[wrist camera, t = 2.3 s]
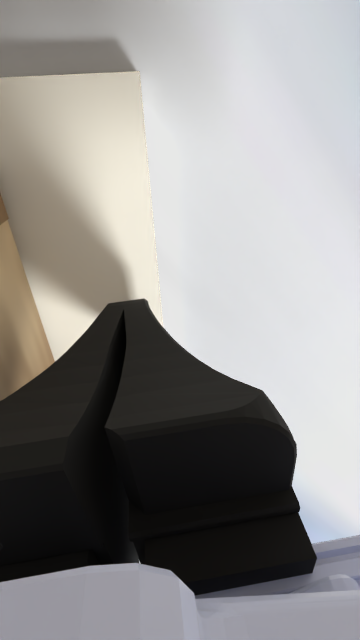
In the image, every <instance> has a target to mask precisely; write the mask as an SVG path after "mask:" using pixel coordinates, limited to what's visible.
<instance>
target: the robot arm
mask: <svg viewBox="0 0 360 640" xmlns="http://www.w3.org/2000/svg"><path fill="white" fill-rule="evenodd" d="M296 457H297V449H296V443H295V441H294V439H293V436H292V434H291V432H290V430H289V428H288V426H287V424H286V423H285V421H284V419H283V418H282V416H281V415H280V414H279V412H278V411H277V409H276V408H275V406H274V405H273V404H272V402H271V401H270V400H269V398H268V397H267V396H266V394H265V393H264V392H263V391H262V390H260V389H257V388H255V387H252V386H250V385H247V384H245V383H242V382H240V381H237V380H234V379H232V378H230V377H228V376H226V375H224V374H222V373H220V372H218V371H216V370H214V369H212V368H211V367H209V366H207V365H206V364H204V363H203V362H201V361H199V360H198V359H197V358H195V357H194V356H193V355H191V354H190V353H189V352H187V351H186V350H185V349H184V348H183V347H182V346H180V345H179V344H178V343H177V342H176V341H175V340H174V339H173V338H172V337H171V336H170V335H169V334H168V332H167V331H166V330H165V329H164V328H163V327H162V325H161V324H160V323H159V321H158V320H157V319H156V317H155V316H154V314H153V312H152V311H151V309H150V307H149V304H148V301H147V300H146V299H144V298H143V299H136V300H129V301H122V302H114V303H108V304H107V305H106V307H105V308H104V309H103V310H102V312H101V313H100V314H99V315H98V317H97V318H96V319H95V320H94V322H93V323H92V324H91V325H90V327H89V328H88V329H87V330H86V331H85V332H84V334H83V335H82V336H81V337H80V338H79V339H78V340H77V341H76V342H75V343H74V344H73V345H72V346H71V347H70V348H69V349H68V350H67V351H66V352H65V353H64V354H63V355H62V356H61V357H60V358H59V359H58V360H56V361H55V362H54V363H53V364H52V365H50V366H49V367H48V368H47V369H46V370H44V371H43V372H42V373H41V374H39V375H38V376H36V377H35V378H34V379H32V380H31V381H29V382H28V383H27V384H25V385H24V386H22V387H21V388H20V389H18V390H17V391H15V392H14V393H12V394H11V395H9V396H8V397H6V398H5V399H3V400H1V401H0V640H360V535H357V536H352V537H346V538H341V539H336V540H330V541H325V542H319V543H314V544H311V542H310V540H309V537H308V535H307V532H306V530H305V528H304V525H303V523H302V521H301V518H300V516H299V513H298V512H299V510H300V506H299V502H298V500H297V497H296V495H295V493H294V490H293V488H292V480H293V474H294V469H295V463H296ZM139 560H140V563H141V564H139Z"/></svg>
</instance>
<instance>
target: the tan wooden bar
mask: <svg viewBox="0 0 360 640" xmlns="http://www.w3.org/2000/svg"><path fill="white" fill-rule="evenodd" d="M8 219H9V217H8V214H7V211H6V208H5V205H4V202H3V199H2V196H1V193H0V401H1V400H3V399H5V398H6V397H8V396H9V395H11V394H12V393H14V392H15V391H17V390H18V389H20V388H21V387H22V386H24V385H25V384H27V383H28V382H29V381H31V380H32V379H34V378H35V377H36V376H38V375H39V374H41V373H42V372H43V371H44V370H46V369H47V368H48V367H49V366H50V365H52V364H53V363H54V362H55V360H54V357H53V354H52V351H51V349H50V346H49V343H48V340H47V337H46V334H45V331H44V328H43V325H42V322H41V319H40V316H39V313H38V310H37V307H36V304H35V301H34V298H33V295H32V292H31V289H30V286H29V283H28V280H27V277H26V274H25V271H24V268H23V265H22V262H21V259H20V256H19V253H18V250H17V247H16V244H15V241H14V238H13V235H12V232H11V229H10V226H9V223H8Z"/></svg>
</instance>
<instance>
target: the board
mask: <svg viewBox="0 0 360 640" xmlns="http://www.w3.org/2000/svg"><path fill="white" fill-rule="evenodd" d="M0 193H1V196H2V199H3V202H4V205H5V208H6V211H7V214H8V217H9V219H8V223H9V226H10V229H11V232H12V235H13V238H14V241H15V244H16V247H17V250H18V253H19V256H20V259H21V262H22V265H23V268H24V271H25V274H26V277H27V280H28V283H29V286H30V289H31V292H32V295H33V298H34V301H35V304H36V307H37V310H38V313H39V316H40V319H41V322H42V325H43V328H44V331H45V334H46V337H47V340H48V343H49V346H50V349H51V351H52V354H53V357H54V360H55V361H56V360H58V359H59V358H60V357H61V356H62V355H63V354H64V353H65V352H66V351H67V350H68V349H69V348H70V347H71V346H72V345H73V344H74V343H75V342H76V341H77V340H78V339H79V338H80V337H81V336H82V335H83V334H84V332H85V331H86V330H87V329H88V328H89V327H90V325H91V324H92V323H93V322H94V320H95V319H96V318H97V317H98V315H99V314H100V313H101V312H102V310H103V309H104V308H105V307H106V305H107V304H108V303H114V302H122V301H129V300H136V299H143V298H144V299H146V300H147V301H148V304H149V307H150V309H151V311H152V312H153V314H154V316H155V317H156V319H157V320H158V321H159V323H160V324H161V325H162V327H163V318H162V308H161V297H160V286H159V275H158V265H157V254H156V243H155V232H154V222H153V211H152V200H151V189H150V179H149V168H148V157H147V146H146V136H145V125H144V114H143V103H142V93H141V82H140V71H132V72H110V73H88V74H66V75H44V76H22V77H0Z"/></svg>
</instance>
